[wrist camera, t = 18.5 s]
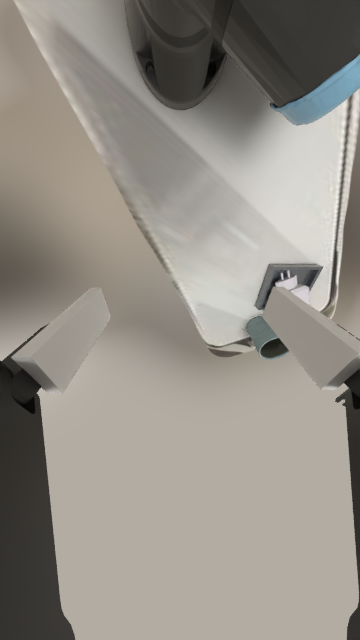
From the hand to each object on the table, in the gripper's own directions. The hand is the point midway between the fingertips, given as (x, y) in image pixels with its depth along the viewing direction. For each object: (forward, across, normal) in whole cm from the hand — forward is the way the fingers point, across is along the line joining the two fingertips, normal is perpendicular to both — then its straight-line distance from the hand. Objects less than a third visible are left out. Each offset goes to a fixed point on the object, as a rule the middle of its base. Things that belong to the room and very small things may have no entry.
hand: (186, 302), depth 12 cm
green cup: (+33, +29, -28) cm, 52 cm away
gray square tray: (+33, +32, -13) cm, 48 cm away
